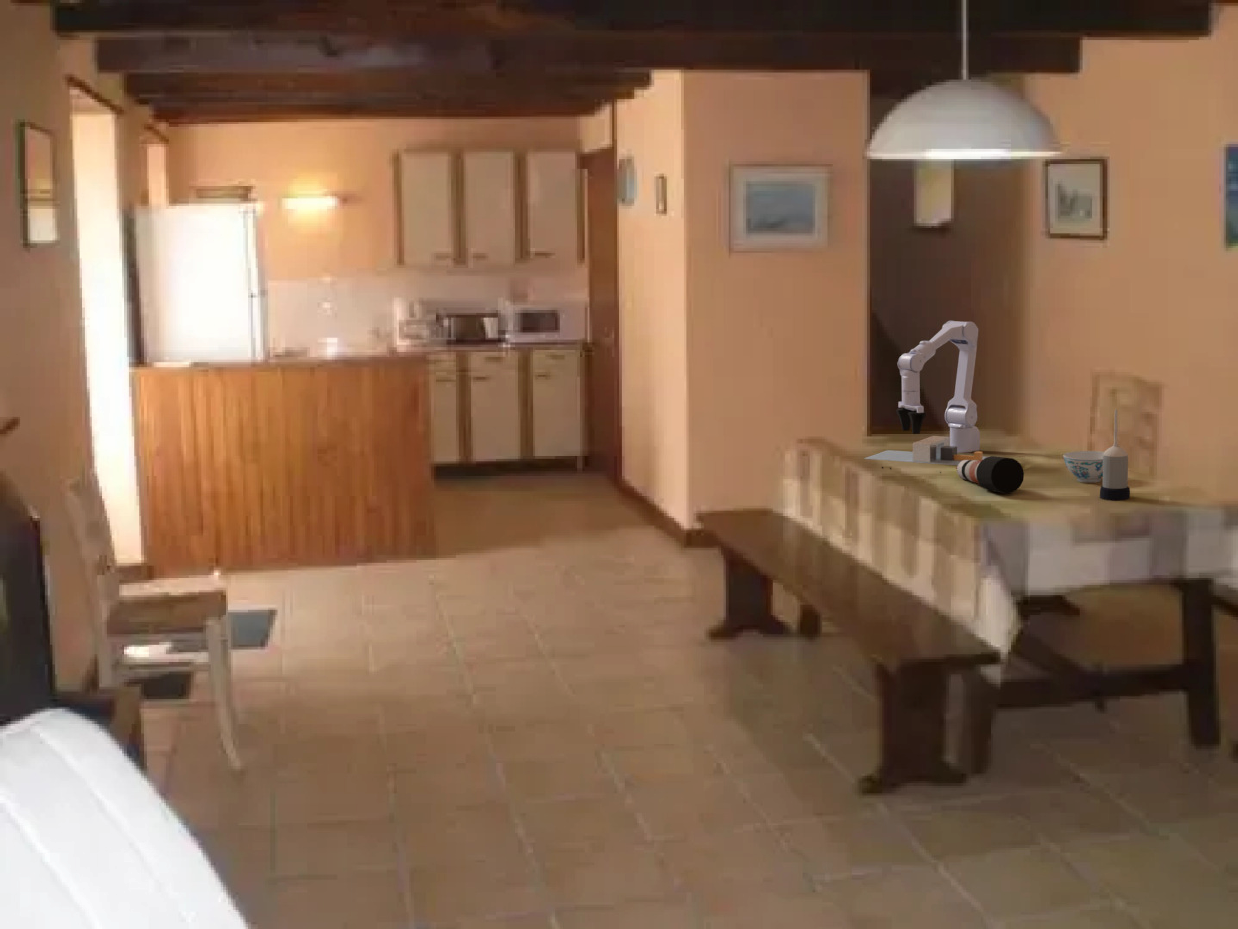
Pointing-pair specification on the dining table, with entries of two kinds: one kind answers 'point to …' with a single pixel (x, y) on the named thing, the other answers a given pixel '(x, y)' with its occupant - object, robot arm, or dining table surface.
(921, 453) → the grey arch block
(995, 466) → the striped cylinder
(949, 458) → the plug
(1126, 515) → the dining table surface
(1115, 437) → the nozzle bottle
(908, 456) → the board
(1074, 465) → the chinaware
